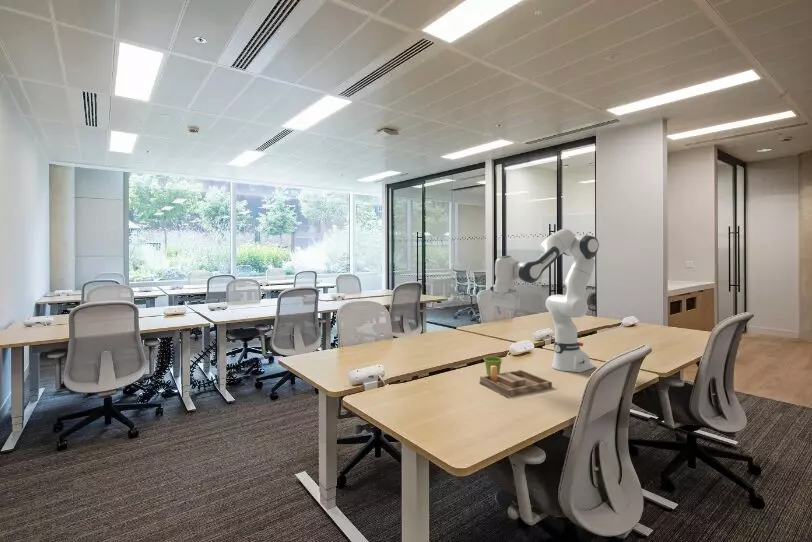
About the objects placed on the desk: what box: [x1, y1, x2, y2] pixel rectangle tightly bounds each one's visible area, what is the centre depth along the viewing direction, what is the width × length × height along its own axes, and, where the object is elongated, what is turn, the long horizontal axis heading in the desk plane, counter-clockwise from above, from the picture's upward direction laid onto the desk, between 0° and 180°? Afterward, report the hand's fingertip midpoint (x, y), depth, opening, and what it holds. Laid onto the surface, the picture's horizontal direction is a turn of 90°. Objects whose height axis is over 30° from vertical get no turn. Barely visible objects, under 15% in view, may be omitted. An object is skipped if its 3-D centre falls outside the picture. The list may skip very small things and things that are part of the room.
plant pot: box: [483, 356, 503, 376], centre depth 204 cm, size 9×9×9 cm
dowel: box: [491, 366, 497, 383], centre depth 190 cm, size 3×3×8 cm
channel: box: [478, 369, 553, 399], centre depth 187 cm, size 25×22×3 cm
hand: (504, 315), depth 200 cm, fingers open, 8 cm apart
